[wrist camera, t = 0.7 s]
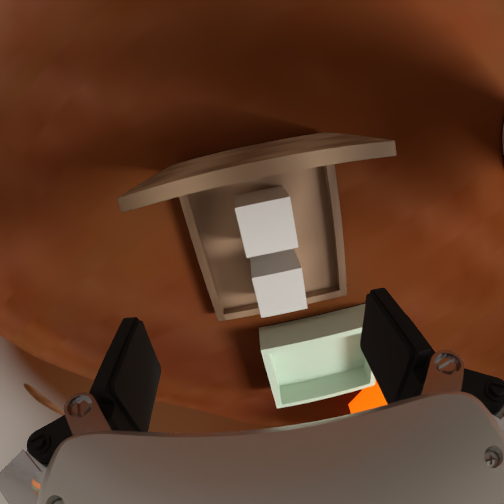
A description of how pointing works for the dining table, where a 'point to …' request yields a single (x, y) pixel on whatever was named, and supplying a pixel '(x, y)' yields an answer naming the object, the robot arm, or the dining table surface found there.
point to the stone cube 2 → (278, 283)
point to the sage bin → (315, 357)
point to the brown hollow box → (253, 179)
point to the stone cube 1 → (266, 221)
